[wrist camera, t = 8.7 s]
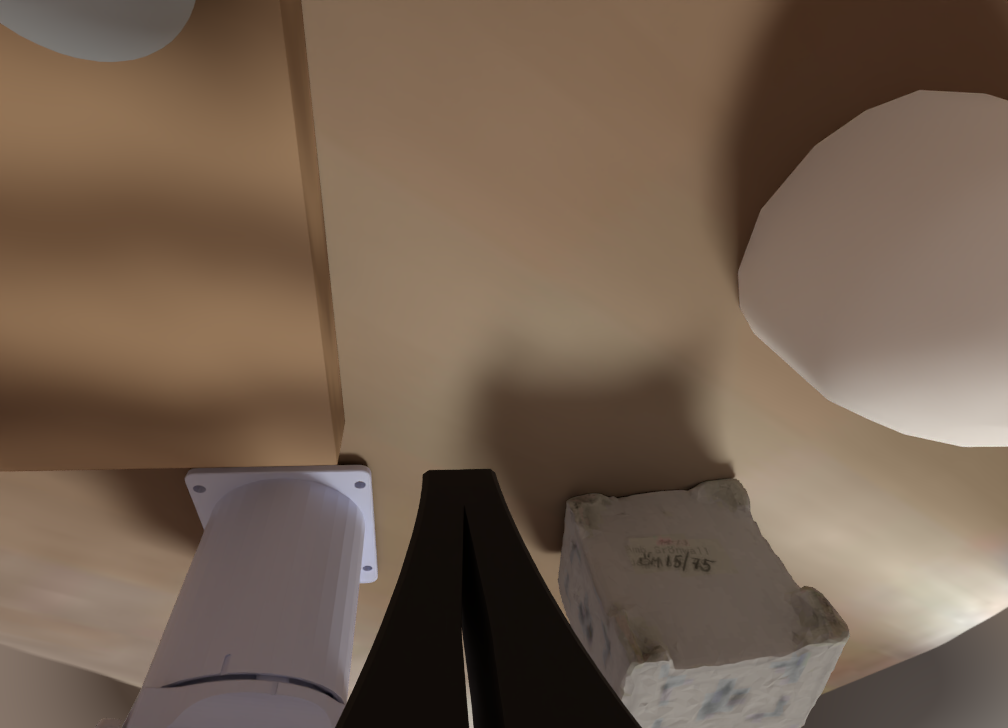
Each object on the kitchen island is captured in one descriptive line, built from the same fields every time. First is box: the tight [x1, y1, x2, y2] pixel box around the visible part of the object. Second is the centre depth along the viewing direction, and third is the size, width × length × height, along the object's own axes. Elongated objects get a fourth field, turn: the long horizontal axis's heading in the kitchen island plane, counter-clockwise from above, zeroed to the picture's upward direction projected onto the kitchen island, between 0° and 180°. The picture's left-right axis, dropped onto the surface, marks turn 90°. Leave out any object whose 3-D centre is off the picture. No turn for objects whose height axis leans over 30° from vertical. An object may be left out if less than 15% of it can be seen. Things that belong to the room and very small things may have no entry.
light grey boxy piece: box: [558, 479, 850, 728], centre depth 25 cm, size 10×8×10 cm
